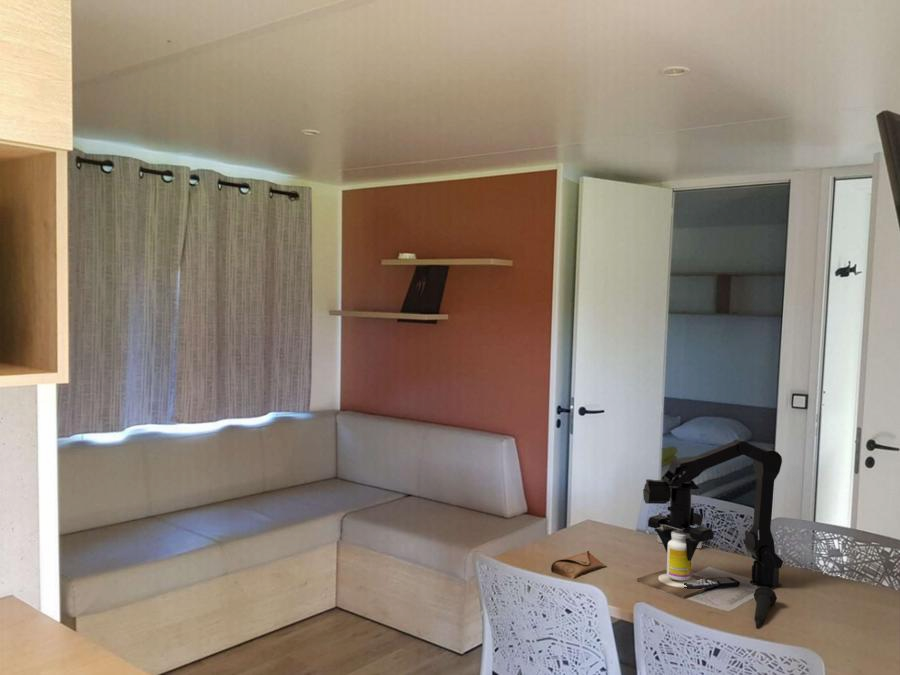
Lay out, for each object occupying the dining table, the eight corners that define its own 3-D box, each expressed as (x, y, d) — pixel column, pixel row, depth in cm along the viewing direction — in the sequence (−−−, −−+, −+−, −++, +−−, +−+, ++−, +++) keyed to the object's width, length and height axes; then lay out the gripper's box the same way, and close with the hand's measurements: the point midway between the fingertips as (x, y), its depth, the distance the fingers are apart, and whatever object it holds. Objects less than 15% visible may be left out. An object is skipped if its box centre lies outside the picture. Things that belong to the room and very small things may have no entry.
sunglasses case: (573, 579, 215) (564, 557, 218) (556, 586, 220) (548, 563, 222) (609, 566, 228) (600, 545, 230) (592, 572, 232) (584, 551, 234)
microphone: (764, 642, 184) (772, 605, 201) (772, 623, 182) (780, 588, 200) (742, 631, 186) (752, 596, 203) (750, 612, 185) (759, 578, 202)
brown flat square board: (719, 585, 213) (719, 582, 213) (684, 598, 203) (684, 595, 203) (672, 569, 226) (672, 566, 226) (636, 581, 216) (637, 577, 215)
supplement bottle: (693, 581, 211) (694, 536, 210) (670, 580, 211) (671, 536, 211) (686, 573, 218) (687, 530, 217) (663, 572, 218) (665, 529, 217)
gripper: (725, 506, 211) (723, 560, 212) (670, 493, 226) (669, 543, 226) (702, 512, 204) (701, 568, 205) (647, 498, 219) (646, 550, 220)
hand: (679, 557), depth 214 cm, fingers closed on supplement bottle, 7 cm apart
